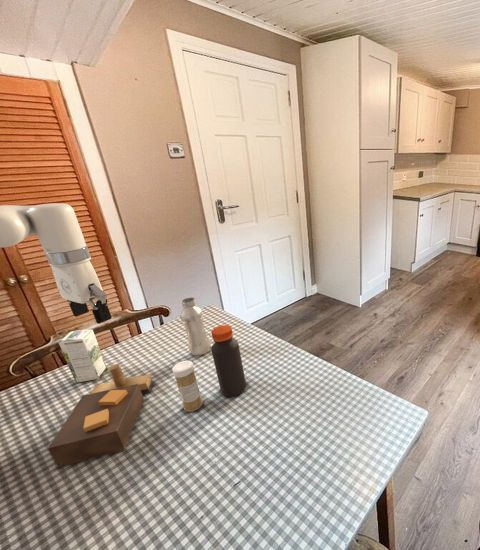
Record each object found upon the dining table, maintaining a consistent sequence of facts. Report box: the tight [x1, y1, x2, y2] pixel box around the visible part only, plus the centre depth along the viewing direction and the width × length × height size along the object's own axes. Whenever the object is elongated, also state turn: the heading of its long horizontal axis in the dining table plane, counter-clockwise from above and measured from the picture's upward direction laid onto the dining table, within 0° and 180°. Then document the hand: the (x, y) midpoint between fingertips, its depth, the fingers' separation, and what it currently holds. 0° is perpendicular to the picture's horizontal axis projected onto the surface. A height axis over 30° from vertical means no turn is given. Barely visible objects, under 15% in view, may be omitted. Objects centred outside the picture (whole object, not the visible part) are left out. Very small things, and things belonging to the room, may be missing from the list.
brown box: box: [47, 384, 145, 469], centre depth 73 cm, size 13×16×6 cm
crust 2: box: [99, 390, 128, 405], centre depth 76 cm, size 4×4×1 cm
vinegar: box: [210, 324, 247, 398], centre depth 84 cm, size 7×7×20 cm
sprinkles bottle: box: [171, 360, 204, 413], centre depth 79 cm, size 5×5×14 cm
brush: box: [89, 363, 154, 395], centre depth 84 cm, size 13×4×10 cm, turn 111°
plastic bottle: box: [179, 297, 211, 356], centre depth 100 cm, size 6×7×20 cm
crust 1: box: [83, 409, 109, 432], centre depth 69 cm, size 4×4×1 cm
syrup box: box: [58, 329, 107, 384], centre depth 90 cm, size 6×6×14 cm
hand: (93, 317), depth 80 cm, fingers open, 9 cm apart
